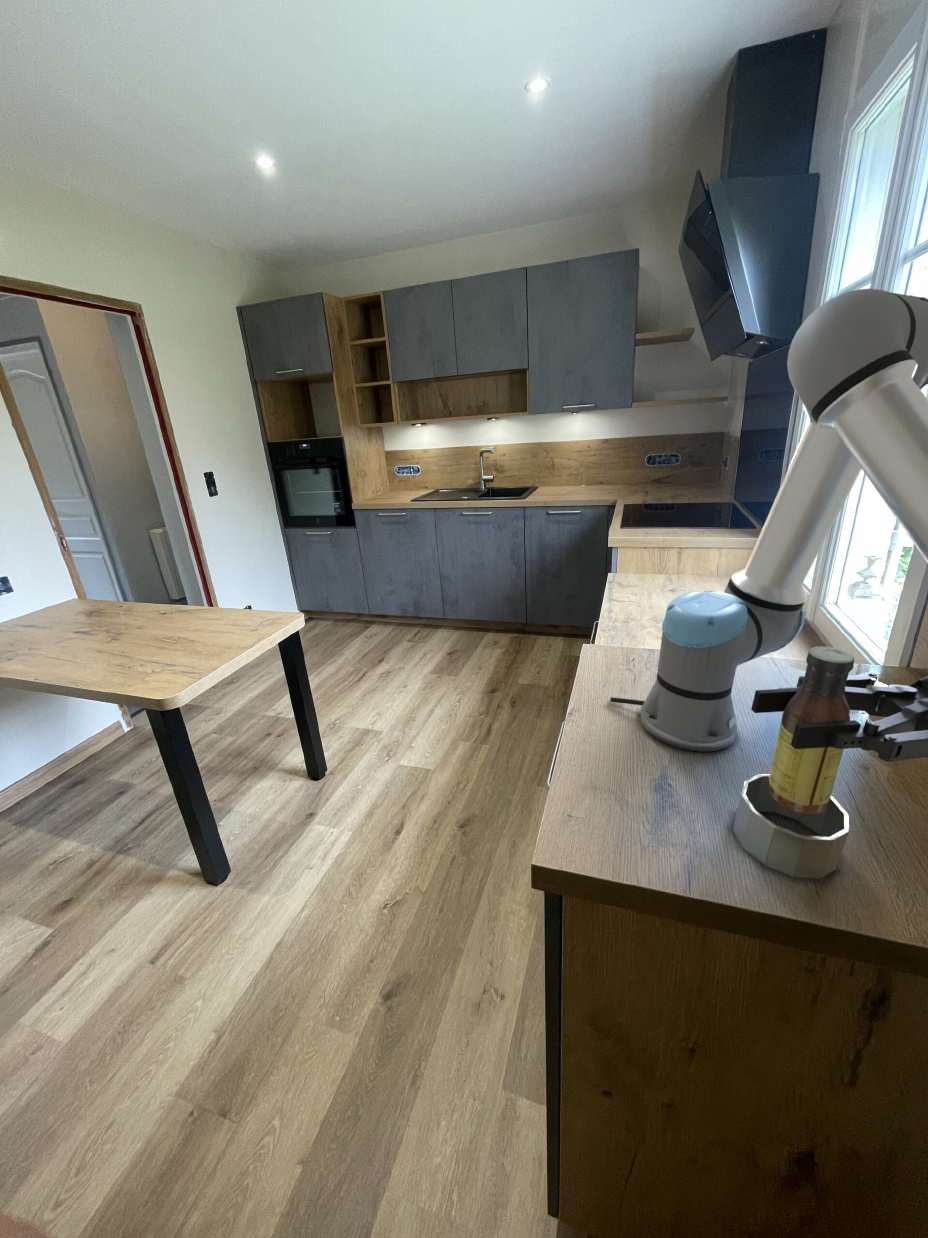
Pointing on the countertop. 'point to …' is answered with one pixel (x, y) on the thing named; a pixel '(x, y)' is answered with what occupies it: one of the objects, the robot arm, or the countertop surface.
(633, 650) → the countertop surface
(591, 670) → the countertop surface
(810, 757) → the sauce bottle
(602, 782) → the countertop surface
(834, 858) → the tin
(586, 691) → the countertop surface
